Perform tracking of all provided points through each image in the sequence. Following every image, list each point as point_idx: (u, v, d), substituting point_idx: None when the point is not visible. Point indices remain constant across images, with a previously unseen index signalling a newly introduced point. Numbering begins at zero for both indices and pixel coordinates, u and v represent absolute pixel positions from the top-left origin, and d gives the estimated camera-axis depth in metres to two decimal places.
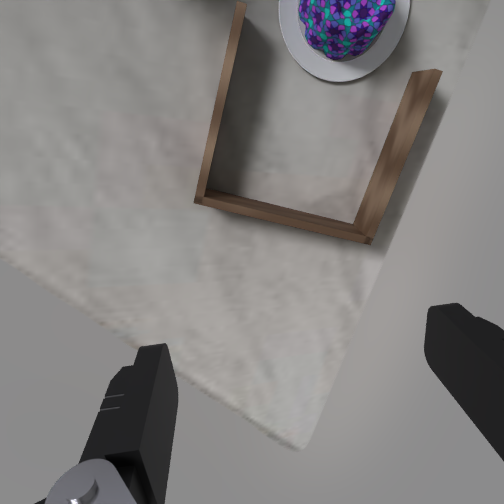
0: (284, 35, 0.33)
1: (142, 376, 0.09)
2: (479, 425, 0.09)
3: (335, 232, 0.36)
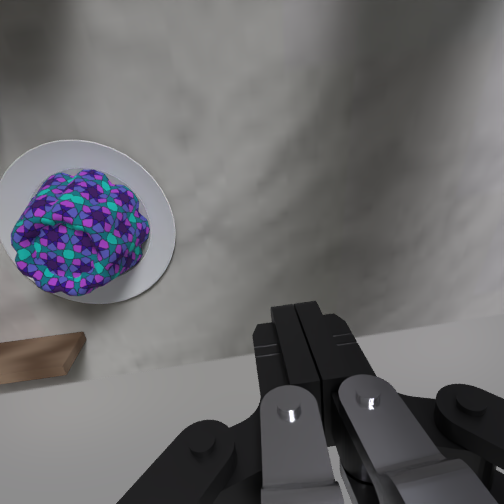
0: (9, 173, 0.23)
1: (288, 328, 0.10)
2: None
3: None
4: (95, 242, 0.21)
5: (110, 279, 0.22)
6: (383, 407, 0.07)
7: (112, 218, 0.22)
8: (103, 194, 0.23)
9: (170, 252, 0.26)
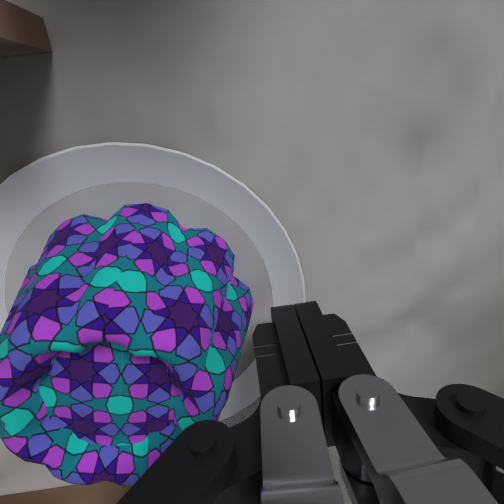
0: None
1: (288, 328, 0.10)
2: None
3: None
4: (183, 382, 0.09)
5: None
6: (383, 407, 0.07)
7: (209, 311, 0.10)
8: (176, 252, 0.11)
9: None
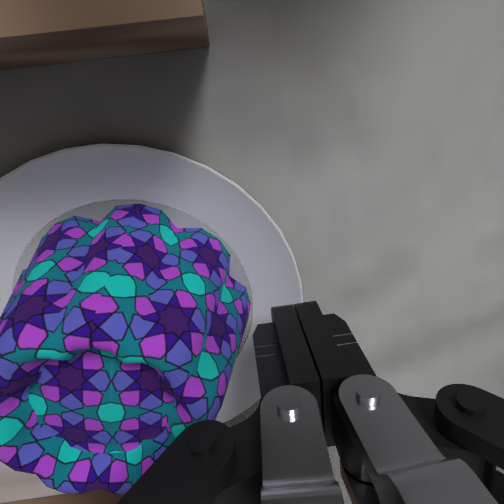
0: None
1: (288, 328, 0.10)
2: None
3: None
4: (174, 389, 0.08)
5: None
6: (383, 407, 0.07)
7: (202, 316, 0.09)
8: (168, 255, 0.11)
9: None
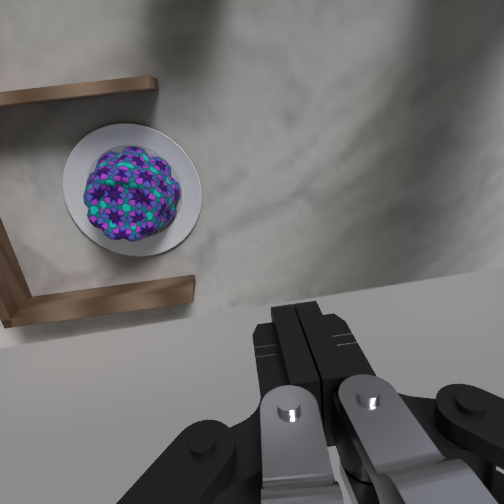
0: (72, 155, 0.30)
1: (288, 328, 0.10)
2: None
3: None
4: (145, 195, 0.28)
5: (157, 225, 0.29)
6: (383, 407, 0.07)
7: (155, 178, 0.29)
8: (145, 163, 0.30)
9: (199, 206, 0.33)
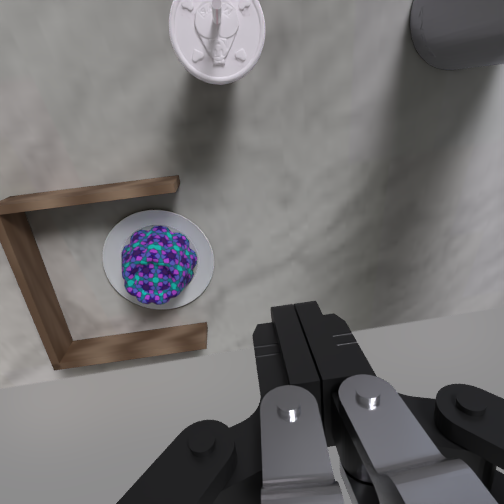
0: (110, 234, 0.38)
1: (288, 328, 0.10)
2: None
3: (45, 339, 0.38)
4: (171, 271, 0.35)
5: (180, 292, 0.37)
6: (383, 407, 0.07)
7: (178, 255, 0.36)
8: (169, 240, 0.37)
9: (211, 270, 0.40)
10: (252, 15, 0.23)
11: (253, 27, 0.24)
